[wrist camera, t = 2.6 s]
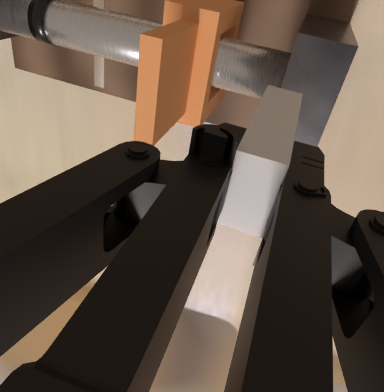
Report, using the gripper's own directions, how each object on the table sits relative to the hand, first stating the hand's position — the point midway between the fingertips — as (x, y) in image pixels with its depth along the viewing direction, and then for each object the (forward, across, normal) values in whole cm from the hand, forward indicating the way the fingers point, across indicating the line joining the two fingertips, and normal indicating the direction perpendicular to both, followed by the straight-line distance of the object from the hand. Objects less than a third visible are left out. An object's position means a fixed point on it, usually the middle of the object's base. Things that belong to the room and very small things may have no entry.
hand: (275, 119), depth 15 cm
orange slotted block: (+11, +6, 0) cm, 12 cm away
